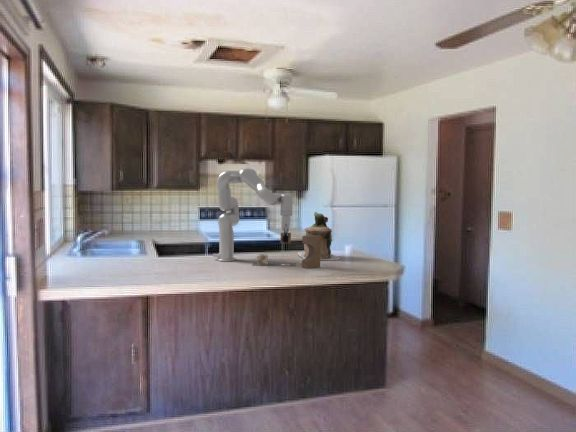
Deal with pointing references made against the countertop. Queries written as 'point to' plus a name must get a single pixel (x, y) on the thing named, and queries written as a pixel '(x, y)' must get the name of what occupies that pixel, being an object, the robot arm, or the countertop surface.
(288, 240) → the walnut block
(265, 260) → the maple block
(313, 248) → the decorative block
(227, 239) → the robot arm
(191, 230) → the countertop surface
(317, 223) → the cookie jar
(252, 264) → the mat
